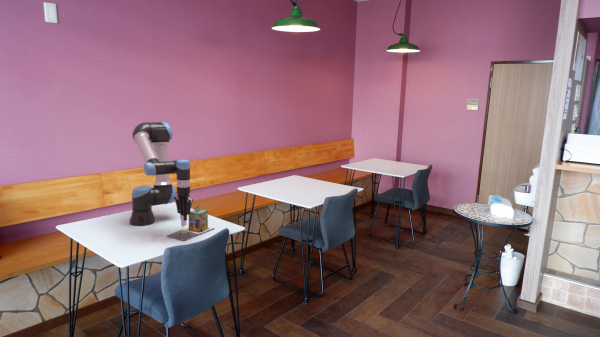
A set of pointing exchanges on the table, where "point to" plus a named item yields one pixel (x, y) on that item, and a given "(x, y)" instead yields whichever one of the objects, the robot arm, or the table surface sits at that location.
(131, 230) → the table surface
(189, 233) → the slate board
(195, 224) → the chalk box
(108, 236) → the table surface
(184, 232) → the button
